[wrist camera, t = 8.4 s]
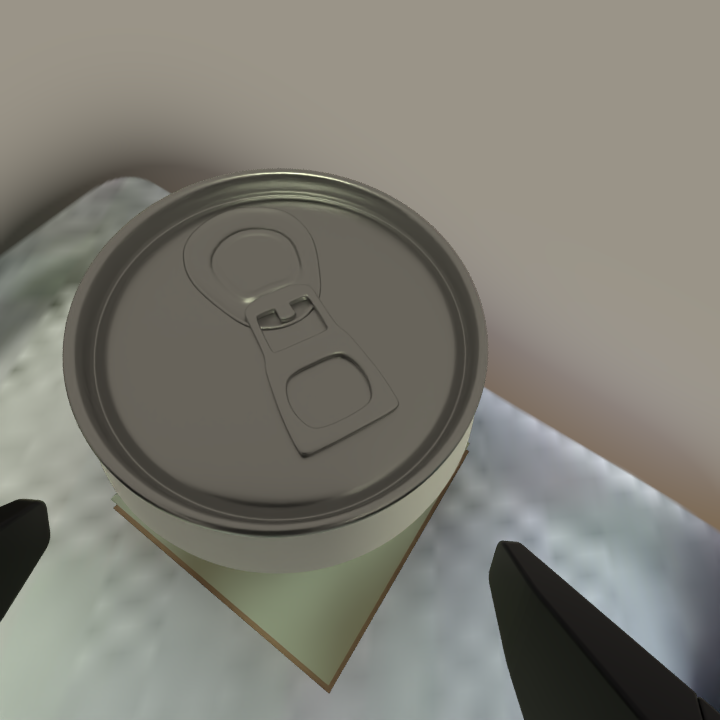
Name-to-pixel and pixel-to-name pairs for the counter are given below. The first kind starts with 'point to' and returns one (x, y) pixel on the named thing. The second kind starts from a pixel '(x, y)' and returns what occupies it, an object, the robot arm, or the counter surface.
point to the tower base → (305, 596)
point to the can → (276, 367)
